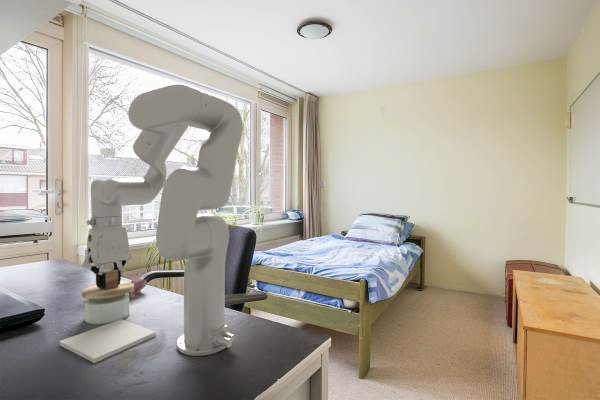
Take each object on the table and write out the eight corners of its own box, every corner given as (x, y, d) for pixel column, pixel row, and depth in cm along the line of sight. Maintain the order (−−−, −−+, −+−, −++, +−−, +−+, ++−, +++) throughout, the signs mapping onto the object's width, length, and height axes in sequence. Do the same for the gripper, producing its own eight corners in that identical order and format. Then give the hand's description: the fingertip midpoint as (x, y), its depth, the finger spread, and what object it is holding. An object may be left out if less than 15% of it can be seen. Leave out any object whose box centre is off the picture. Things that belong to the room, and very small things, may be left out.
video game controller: (123, 305, 107) (132, 287, 106) (113, 298, 107) (121, 280, 107) (143, 295, 116) (151, 279, 116) (134, 289, 117) (141, 272, 116)
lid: (143, 288, 95) (143, 268, 95) (98, 301, 84) (97, 279, 84) (117, 282, 102) (117, 263, 102) (72, 294, 91) (71, 273, 90)
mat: (156, 335, 82) (156, 331, 82) (94, 363, 69) (94, 358, 69) (121, 322, 89) (121, 319, 89) (59, 345, 76) (59, 341, 76)
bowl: (137, 313, 96) (136, 295, 95) (98, 327, 86) (98, 307, 86) (115, 306, 101) (115, 289, 101) (77, 318, 91) (76, 299, 91)
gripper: (83, 226, 83) (84, 296, 84) (141, 220, 98) (143, 280, 98) (68, 224, 87) (70, 291, 88) (127, 219, 101) (128, 277, 102)
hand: (108, 285), depth 93 cm, fingers closed on lid, 3 cm apart
